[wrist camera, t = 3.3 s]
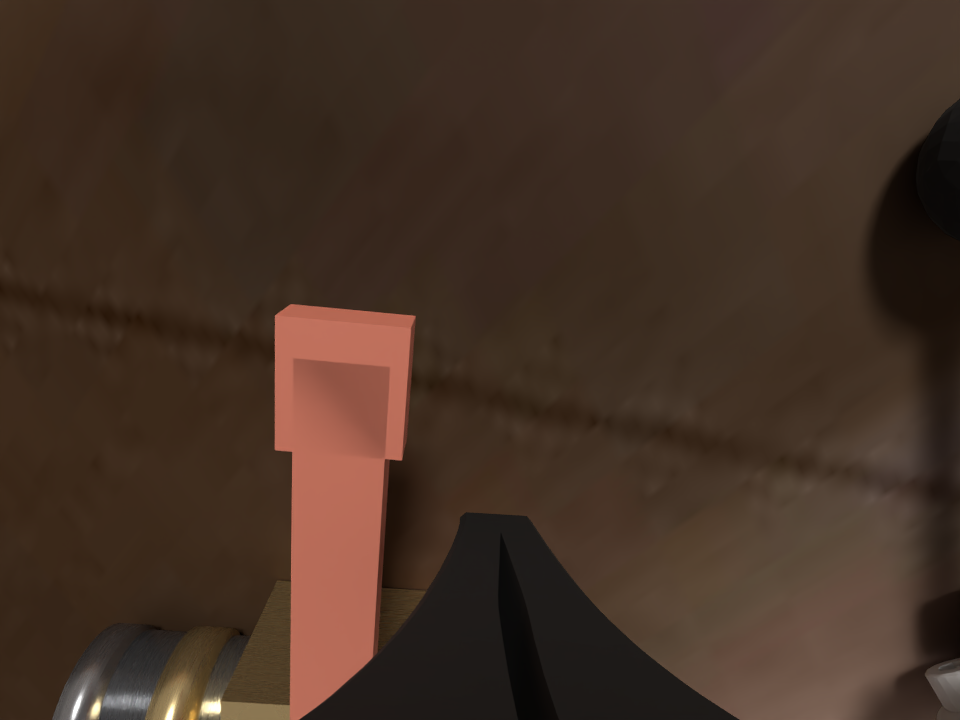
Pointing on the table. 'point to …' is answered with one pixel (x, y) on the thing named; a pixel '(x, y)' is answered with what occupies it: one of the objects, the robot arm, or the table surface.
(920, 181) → the mechanical valve
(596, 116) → the table surface
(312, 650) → the lever
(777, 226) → the table surface
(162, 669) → the valve pipe
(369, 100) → the table surface
